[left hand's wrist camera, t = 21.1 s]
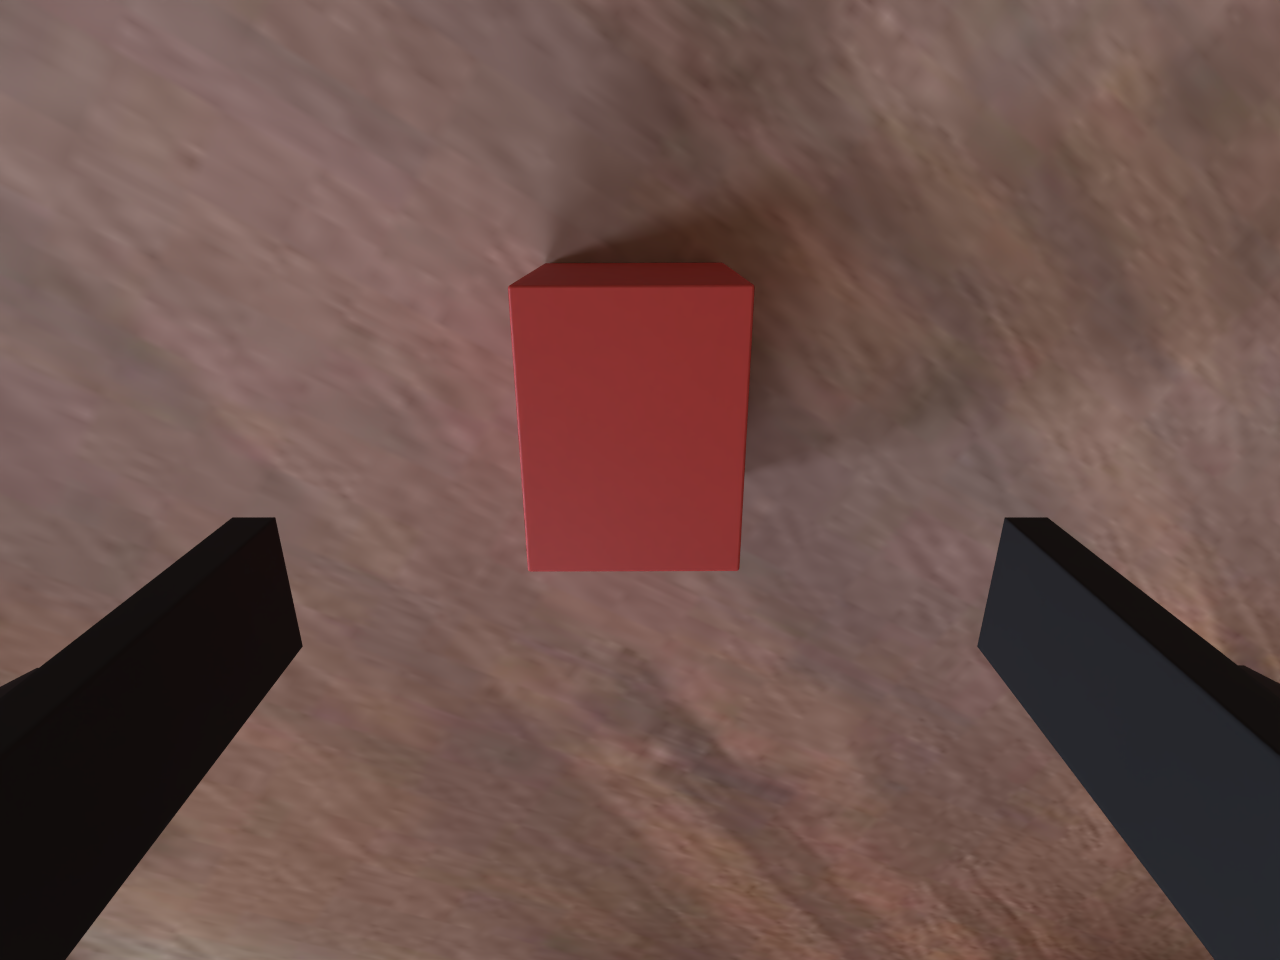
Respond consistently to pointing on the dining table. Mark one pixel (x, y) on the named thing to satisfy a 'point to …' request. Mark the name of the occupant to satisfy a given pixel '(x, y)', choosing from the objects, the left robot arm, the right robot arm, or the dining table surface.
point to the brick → (632, 414)
